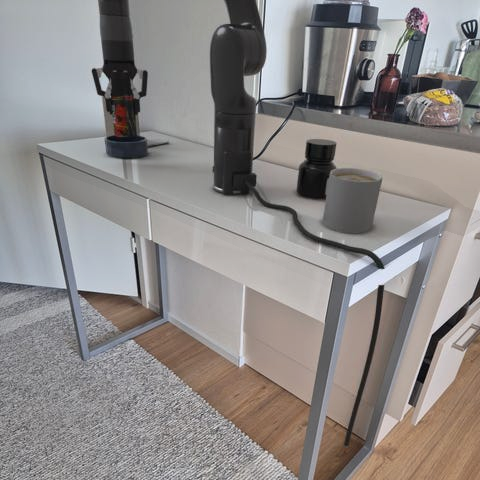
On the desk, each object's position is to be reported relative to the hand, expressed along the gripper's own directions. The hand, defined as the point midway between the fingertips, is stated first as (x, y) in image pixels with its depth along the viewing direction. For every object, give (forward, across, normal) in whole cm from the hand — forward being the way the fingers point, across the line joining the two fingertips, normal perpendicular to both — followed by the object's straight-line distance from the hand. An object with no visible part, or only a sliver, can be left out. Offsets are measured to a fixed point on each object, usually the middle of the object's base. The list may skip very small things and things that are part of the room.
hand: (123, 114), depth 114 cm
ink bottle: (+13, +43, -32) cm, 55 cm away
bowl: (+13, 0, +12) cm, 18 cm away
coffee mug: (+13, +44, -51) cm, 68 cm away
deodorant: (+5, 0, 0) cm, 5 cm away
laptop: (+13, +4, +30) cm, 33 cm away
